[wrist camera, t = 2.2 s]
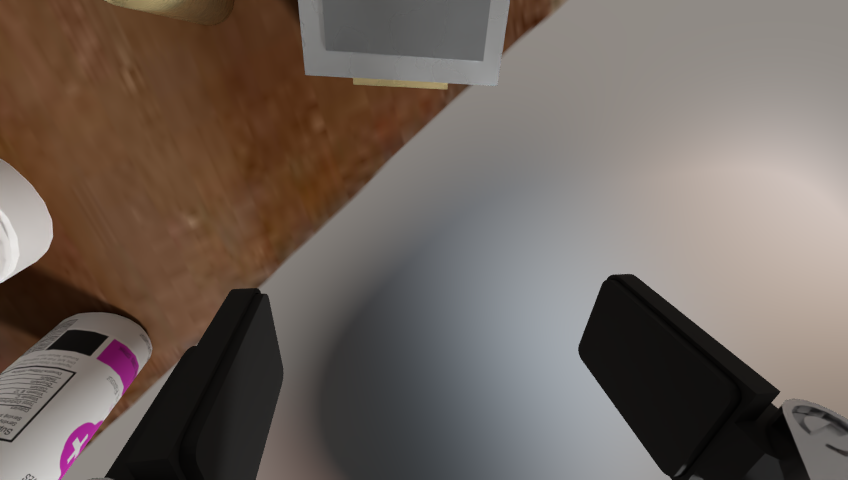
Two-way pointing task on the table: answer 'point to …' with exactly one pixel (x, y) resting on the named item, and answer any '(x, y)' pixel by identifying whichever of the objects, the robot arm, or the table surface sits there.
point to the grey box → (404, 41)
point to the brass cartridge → (183, 9)
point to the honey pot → (21, 223)
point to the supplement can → (65, 392)
